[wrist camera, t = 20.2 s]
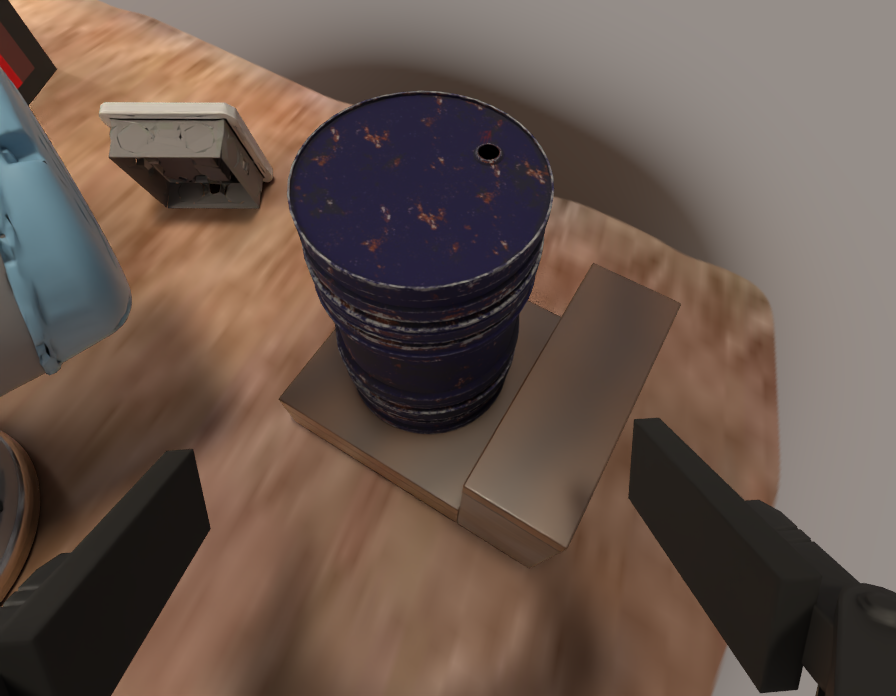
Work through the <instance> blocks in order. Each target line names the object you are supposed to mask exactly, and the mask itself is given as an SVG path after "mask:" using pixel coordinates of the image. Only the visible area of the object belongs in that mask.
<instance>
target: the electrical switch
mask: <svg viewBox="0 0 896 696" xmlns="http://www.w3.org/2000/svg"><path fill="white" fill-rule="evenodd" d="M99 117H100V118H101V120H102V121H103V122H104V123H105V124H106V125H107V126H108V127H110V128H111V130H110V139H111V145H110V152H109V158H110V159H111V160H112V161H113V162H114V163H116V164H117V165H118V166H119V167H120V168H121V169H122V170H124V171H125V172H126V173H127V174H128V175H129V176H131V177H132V178H133V179H134V180H135V181H136V182H137V183H139V184H140V185H141V186H142V187H143V188H144V189H146V190H147V191H148V192H149V193H150V194H151V195H152V196H154V197H155V198H156V199H157V200H158V201H159V202H160V203H162V204H163V205H164V206H165V207H166V208H167V202H168V208H259V207H260V194H261V191H262V183H263V182H270V181H271V180H272V179H273V169H272V167H271V166H270V164H269V162H268V161H267V159H266V157H265V156H264V154H263V152H262V151H261V149H260V148H259V146H258V144H257V143H256V141H255V139H254V138H253V136H252V134H251V133H250V131H249V130H248V128H247V126H246V125H245V123H244V121H243V120H242V118H241V116H240V115H239V113H238V112H237V110H236V108H235V107H232V106H230V105H228V104H226V103H160V102H104V103H103V104H102V105H101V106H100V111H99ZM136 159H137V163H136ZM177 183H179V184H177ZM200 183H202V184H203V185H204V186H205V188H204V192H203V185H202V184H200ZM209 183H211V184H221V186H220V191H219V192H218V193H216V194H212V193H210V186H209ZM206 184H207V185H206ZM227 186H228V187H227ZM226 187H227V191H226V194H225V189H226ZM204 194H205V195H204ZM203 195H204V196H203ZM225 195H226V196H225ZM168 196H169V198H168ZM202 196H203V197H202ZM180 198H181V199H180ZM228 200H229V201H231V202H229V201H228ZM241 202H243V203H241ZM194 203H195V204H194Z"/></svg>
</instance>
